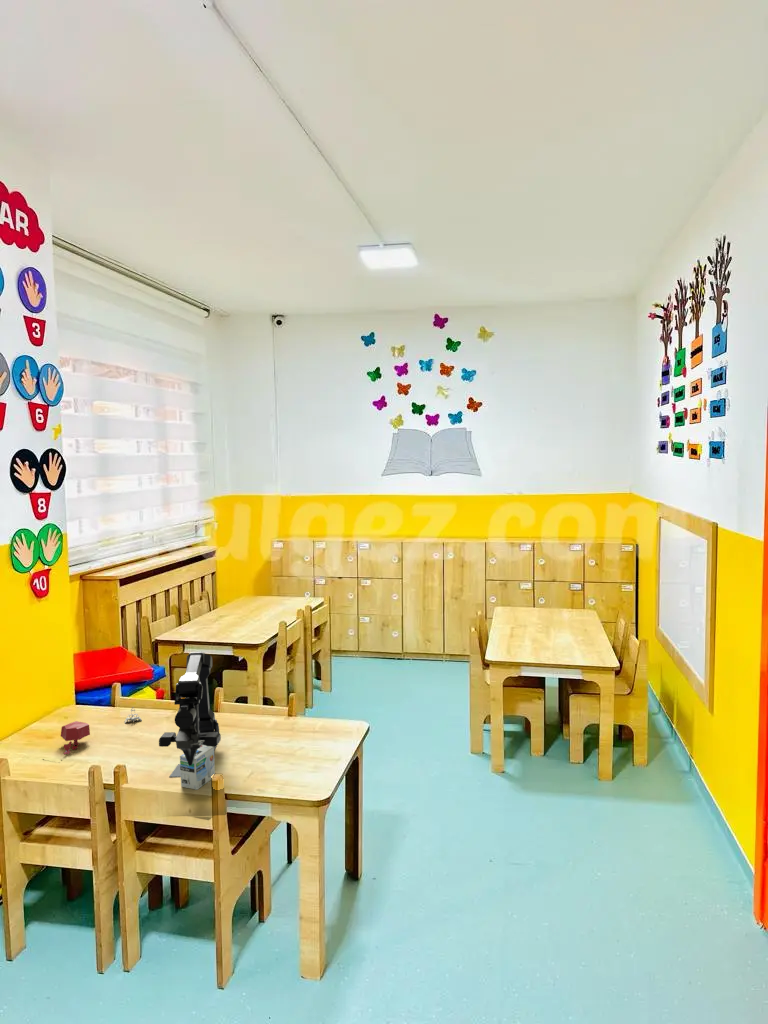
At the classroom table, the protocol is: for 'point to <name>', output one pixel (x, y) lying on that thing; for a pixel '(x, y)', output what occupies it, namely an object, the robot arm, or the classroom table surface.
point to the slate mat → (176, 772)
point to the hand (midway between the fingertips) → (190, 765)
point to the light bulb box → (198, 768)
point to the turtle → (74, 734)
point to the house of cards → (132, 716)
